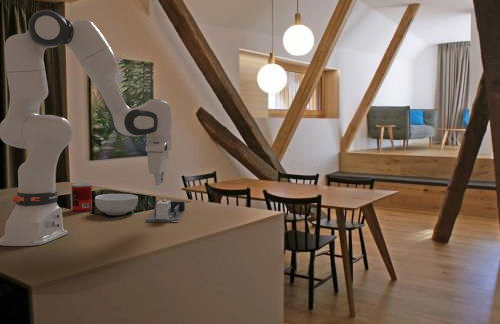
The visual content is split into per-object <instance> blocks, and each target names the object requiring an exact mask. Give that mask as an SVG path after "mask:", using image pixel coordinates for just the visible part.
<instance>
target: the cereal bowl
mask: <svg viewBox="0 0 500 324" xmlns="http://www.w3.org/2000/svg"><path fill="white" fill-rule="evenodd" d="M138 201H139V197H138V195H135V194H129V193H106V194H104V193H103V194H99V195H96V196H95V198H94V203H95V207H96V208H97V209H98V210H99V211H101V212H103V213H104V214H106V215H108V216H122V215H123V216H124V215H126V214H127V213H130V212H131V211H134V210H135V208H136V207H137V206H138Z"/></svg>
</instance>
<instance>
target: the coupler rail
mask: <svg viewBox="0 0 500 324" xmlns="http://www.w3.org/2000/svg"><path fill="white" fill-rule="evenodd" d="M159 200H160V199H159ZM159 200H158V199H157V200H155V202H154V205H155V207H154V211H153V212H151V214H150V215H148V217H147V218H146V219H145V223H171V222H170V221H179V222H180V220H181V219H180V217H181V216H182V214H183V213H184V211H185V212H186V200H171V216H170V217H169V219H156V203H157V202H158V201H159ZM184 214H185V213H184ZM184 214H183V215H184ZM182 217H183V216H182ZM182 217H181V218H182ZM179 219H180V220H179Z"/></svg>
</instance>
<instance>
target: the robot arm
mask: <svg viewBox="0 0 500 324" xmlns="http://www.w3.org/2000/svg"><path fill="white" fill-rule="evenodd" d="M59 46H66V47H68V48H69V49H70V50H71V51H72V53H73V54H74V57H76V60H77V62H79V65H80V66H81V67H82V69H83V70H84V72H85V73H86V74H87V76H88V77H89V79H90V80H91V82H92V83H93V85H94V86H95V88H96V89H97V92H98V93H99V95H100V97H101V100H102V101H103V103H104V104H105V106H106V108H107V110H108V112H109V116H110V120H111V125H112V129H113V130H114V132H115V133H116V134H117V135H119V136H121V137H124V138H125V137H126V138H130V137H142V136H145V135H146V145H145V152H146V153H147V167H148V173H149V174H150V175H153V178H154V185H155V186H160V185H161V184H163V183H164V182H165V181H164V177H165V171H167V169H169V151H172V150H173V143H172V142H173V141H172V140H173V138H172V137H173V135H172V132H171V131H172V126H173V125H172V124H173V118H172V117H173V116H172V108H171V105H170V103H169V102H167V101H165V100H162V99H155V98H152V99H149V100H147V101H146V102H145V103H143V104H140V105H139V106H136V107H133V108H131V107H129V106H128V105H127V103H126V101H125V100H124V99H123V95H122V94H121V92H120V90H119V89H118V87H117V84H116V74H117V72H118V61H117V58H116V55H115V53H114V52H113V49H112V47H111V46H110V45H109V43H108V41H107V40H106V38H105V37H104V35H103V34H102V32H101V31H100V29H99V28H97V26H96V25H95V24H94V23H93V22H92V21H91V20H90V19H85V18H83V19H82V18H81V19H78V20H74V21H72V22H71V20H69V19H67V18H66V17H64V16H62V14H59V13H58V12H55V11H54V10H51V9H50V10H49V9H42V10H40V9H39V10H37V11H36V12H35V13H33V14H32V15H31V17H30V18H29V20H28V28H27V31H26V32H24V33H17V34H13V35H11V36H8V38H7V39H6V40H5V44H4V62H5V63H4V64H5V72H6V77H7V82H8V91H9V105H8V111H7V113H6V114H5V117H4V119H2V121H1V122H0V140H1V141H2V142H3V143H4V144H6V145H8V146H11V147H14V148H18V149H29V152H28V156H27V158H26V160H25V161H24V162H22V163H21V164H20V166H18V170H17V177H18V179H17V181H18V184H17V185H18V187H17V189H18V192H17V193H16V195H13V196H12V198H11V201H12V203H15V206H14V207H15V208H14V209H13V210H12V212H11V213H10V215H9V217H8V219H7V220H6V222H5V226H4V234H3V235H2V236H0V246H4V247H5V246H7V247H27V246H29V247H30V246H40V245H44V244H47V243H48V242H51V241H54V240H57V239H58V238H61V237H63V236H64V237H65V236H66V235H68V233H69V232H68V230H66V229H64V219H63V218H64V217H63V210H62V208H61V207H60V206H59V204H58V203H57V202H58V190H57V186H56V181H57V180H56V179H57V178H56V174H57V173H56V172H57V165H58V161H59V158H60V155H61V154H62V152H63V150H65V148H66V147H67V146H69V145H70V144H71V141H72V140H73V135H74V129H73V126H72V124H71V122H70V121H69V120H68V119H67V118H65V117H62V116H58V115H54V114H40V109H41V105H42V103H43V101H44V100H46V99H47V97H48V96H49V87H48V80H47V74H46V67H45V66H46V65H45V61H44V55H45V51H46V50H49V49H52V48H57V47H59Z"/></svg>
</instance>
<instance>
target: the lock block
mask: <svg viewBox="0 0 500 324" xmlns="http://www.w3.org/2000/svg"><path fill="white" fill-rule="evenodd" d="M171 201H172V200H168V199H166V198H164V199H159V201H158V202H157V203H156V219H169V217H170V216H171Z"/></svg>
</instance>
